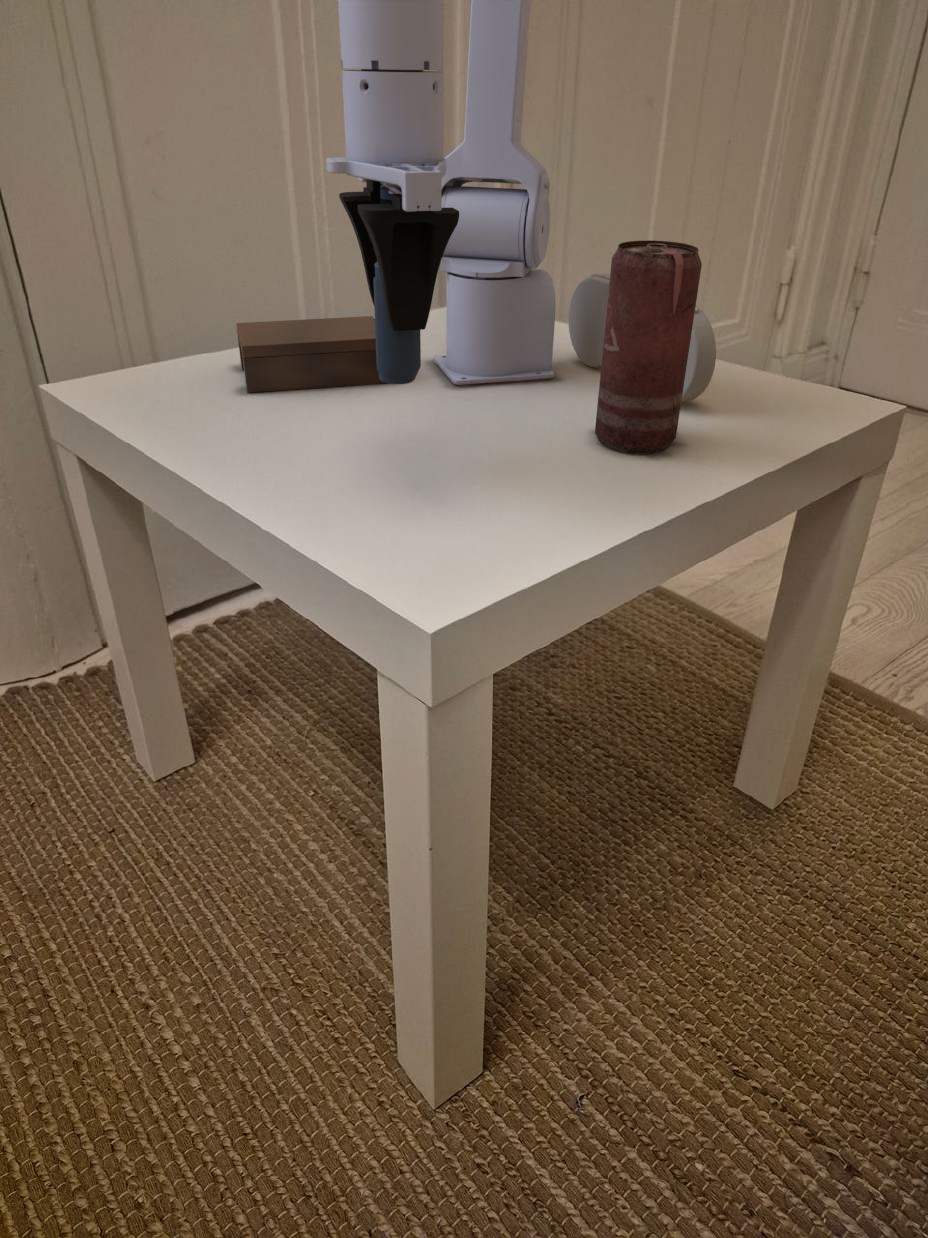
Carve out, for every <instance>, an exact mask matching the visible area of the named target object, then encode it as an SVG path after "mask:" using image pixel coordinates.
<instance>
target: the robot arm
mask: <svg viewBox="0 0 928 1238" xmlns="http://www.w3.org/2000/svg"><path fill="white" fill-rule="evenodd" d="M531 2H532V0H471V1H470V15H469V16H470V19H469V35H468V36H469V37H468V55H467V75H466V93H465V94H466V95H465V114H464V133H463V141H462V142H461V143H460V144H459V145H458V146H457V147H456V148H455V149H453V150H452V151H451V152H450V153H449V154H447V155H446V156H445V157H444V72H443V70H444V0H337V7H338V23H339V25H338V26H339V43H340V44H339V45H340V66H341V83H342V101H343V102H342V103H343V104H342V105H343V119H344V120H343V123H344V139H345V141H344V143H345V156H340V157H327V158H326V159H325V168H326V171H327V172H328V173H330V174H335V175H336V174H341V175H342V174H343V175H344V174H345V175H347V176H351V177H355V178H357V180H358V181H359V182H361V183H365V185H366V186H363V188H362V191H345V192H344V191H343V192H340V193H339V194H338V197H339V200H340V202H341V204H342V206H343V208H344V210H345V212H346V214H347V216H348V218H349V221H350V223H351V225H352V228H353V230H354V234H355V236H356V240H357V243H358V246H359V250H360V254H361V259H362V263H363V268H364V272H365V277H366V281H367V287H368V290H369V294H370V295H369V296H370V299H371V302H372V304H373V306H374V283H373V279H374V277H375V265H374V264H375V263H376V262H377V261H378V266H379V270H380V275H381V281H382V287H383V294H384V300H385V306H386V311H387V315H388V319H389V322H390V325H391V328H392V330H393V331H407V330H420V331H421V330H422V331H423V330H426V327H427V324H428V321H429V317H430V312H431V307H432V302H433V297H434V292H435V286H436V282H437V277H438V273H439V268H440V272H442V273H443V272H444V273H446V316H445V317H446V324H445V326H446V333H445V335H446V336H445V337H446V338H445V339H446V340H445V341H446V343H445V344H446V345H445V346H446V350H445V351H446V352H445V354H444V355H435V356H434V357H433V362H434V363H435V364H436V365H437V366H438V367H439V369H440V370H441V371H442V372H443V373H444V375H446V376H447V378H448V379H449V380H450V381H451V382H452V384H454V385H457V386H463V385H476V384H487V383H488V384H489V383H491V384H492V383H503V382H518V381H530V380H546V379H553V378H554V377H555V372H554V371H553V370H552V369H553V353H554V341H555V339H554V337H555V323H556V307H557V306H556V301H557V300H556V291H555V285H554V281H553V278H552V276H551V275H550V273H549V271H547V270H545V269H541V268H538V267H539V266H540V265H541V264H542V263H543V262H544V260H545V257H546V254H547V250H548V246H549V240H550V239H549V238H550V227H551V205H550V204H551V203H550V191H551V189H550V188H551V180H550V177H549V175H548V172H547V171H548V170H547V169H546V168H545V166H544V165H543V164H542V163H541V162H540V161H539V160H538V159H536V157H535V156H533V154H531V152H529V151H528V150H527V149H526V148H525V147H524V146H523V144H522V143H521V137H522V122H523V110H524V98H525V84H526V69H527V56H528V55H527V54H528V41H529V29H530V28H529V27H530V16H531ZM342 69H343V70H342ZM472 182H474V183H492V184H493V183H494V184H513V185H515V184H516V185H522V186H523V187H525V188H505V187H487V186H485V187H484V186H466V185H465V184H468V183H472ZM464 185H465V186H464ZM384 186H385V187H386V188H388V189H390V190H389V193H390V194H392V205H391V204H381V197H380V188H381V187H384Z"/></svg>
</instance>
